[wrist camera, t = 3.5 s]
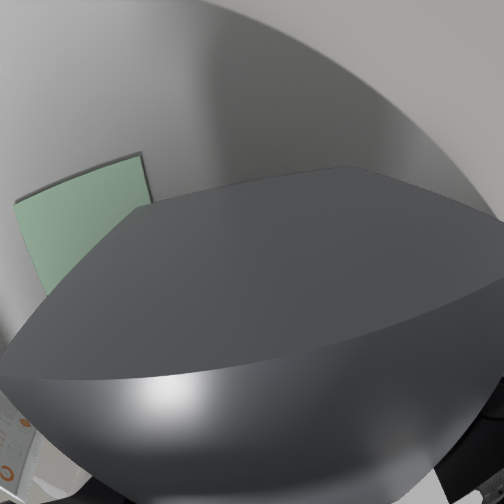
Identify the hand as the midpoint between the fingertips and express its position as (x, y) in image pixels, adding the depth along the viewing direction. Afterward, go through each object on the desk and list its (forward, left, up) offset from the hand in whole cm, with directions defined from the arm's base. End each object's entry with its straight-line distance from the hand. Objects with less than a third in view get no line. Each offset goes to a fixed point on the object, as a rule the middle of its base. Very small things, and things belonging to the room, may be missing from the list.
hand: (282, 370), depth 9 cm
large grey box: (0, 0, -3) cm, 3 cm away
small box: (+32, +13, -8) cm, 36 cm away
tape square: (+10, -3, -8) cm, 13 cm away
